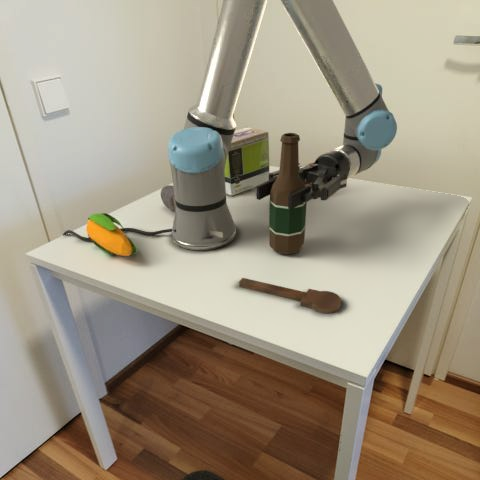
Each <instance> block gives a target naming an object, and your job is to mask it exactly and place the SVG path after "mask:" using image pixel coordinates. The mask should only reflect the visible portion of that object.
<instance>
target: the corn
mask: <svg viewBox="0 0 480 480" xmlns="http://www.w3.org/2000/svg"><path fill="white" fill-rule="evenodd" d="M87 220H88V221H87V223H86V228H85V231H86V233H87V236H88V237H87V238H89V239H90V240H91V242H92V243H93V245H95V247H97V248H98V249H100V250H101V251H103V252H104V253H106V254H107V255H110V256H114V255H117V256H122V257H123V256H124V257H130V255H132V254H137V252H138V249H137V246H136V245H135V244H134V242H133V241H132V240H131V238H129V237H128V235H126V234H125V233H124V231H122V230H121V228H123V229H124V228H125V227H124V226H123V225H122V224H121V222H120V221H119V220H118V219H117V218H116V217H114V216H113V215H110V214H108V213H106V212H105V213H103V212H101V213H93V214H90V215H89V216H88V217H87ZM118 226H120V227H121V228H120V227H118Z"/></svg>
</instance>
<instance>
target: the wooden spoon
mask: <svg viewBox="0 0 480 480" xmlns="http://www.w3.org/2000/svg"><path fill="white" fill-rule="evenodd" d="M238 284H239V287H240V288H243V289H248V290H252V291H257V292H261V293H264V294H269V295H273V296H276V297H282V298H286V299H290V300H294V301H299V302H300V307H304V308H308V309H312V310H313V311H315V312H317V313H321V314H332V313H336V312H337V311H338V310H340V308H341V303H342V299H341V297H340V295H338V294H337V293H336V292H333V291H330V290H317V289H312V288H308V289H307V291H303V290H302V291H301V290H298V289H293V288H289V287H284V286H280V285H276V284H271V283H267V282H262V281H258V280H254V279H249V278H247V277H242V278H241V279H240V280H239V282H238Z"/></svg>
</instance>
